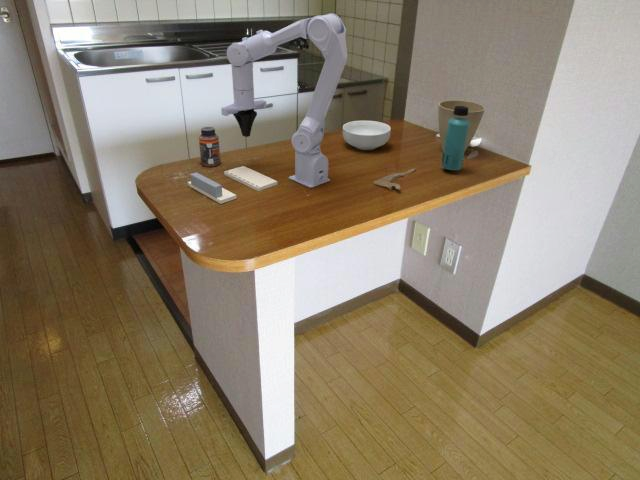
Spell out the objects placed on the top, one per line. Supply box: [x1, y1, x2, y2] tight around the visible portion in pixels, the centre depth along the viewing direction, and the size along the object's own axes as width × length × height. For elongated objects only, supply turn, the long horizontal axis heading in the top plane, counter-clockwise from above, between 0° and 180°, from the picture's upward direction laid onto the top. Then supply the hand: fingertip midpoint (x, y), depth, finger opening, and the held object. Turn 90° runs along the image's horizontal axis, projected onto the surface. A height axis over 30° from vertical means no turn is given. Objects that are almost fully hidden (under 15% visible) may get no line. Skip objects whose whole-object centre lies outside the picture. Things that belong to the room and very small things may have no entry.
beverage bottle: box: [440, 106, 470, 171], centre depth 138 cm, size 6×7×20 cm
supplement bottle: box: [198, 126, 221, 168], centre depth 140 cm, size 6×6×11 cm
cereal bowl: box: [342, 120, 392, 151], centre depth 159 cm, size 17×17×7 cm
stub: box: [187, 171, 237, 205], centre depth 124 cm, size 16×5×4 cm, turn 45°
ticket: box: [223, 165, 278, 192], centre depth 133 cm, size 16×7×1 cm, turn 45°
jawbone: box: [372, 167, 417, 192], centre depth 136 cm, size 9×20×2 cm, turn 157°
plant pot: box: [437, 99, 486, 153], centre depth 155 cm, size 15×15×16 cm
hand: (246, 135), depth 135 cm, fingers closed
